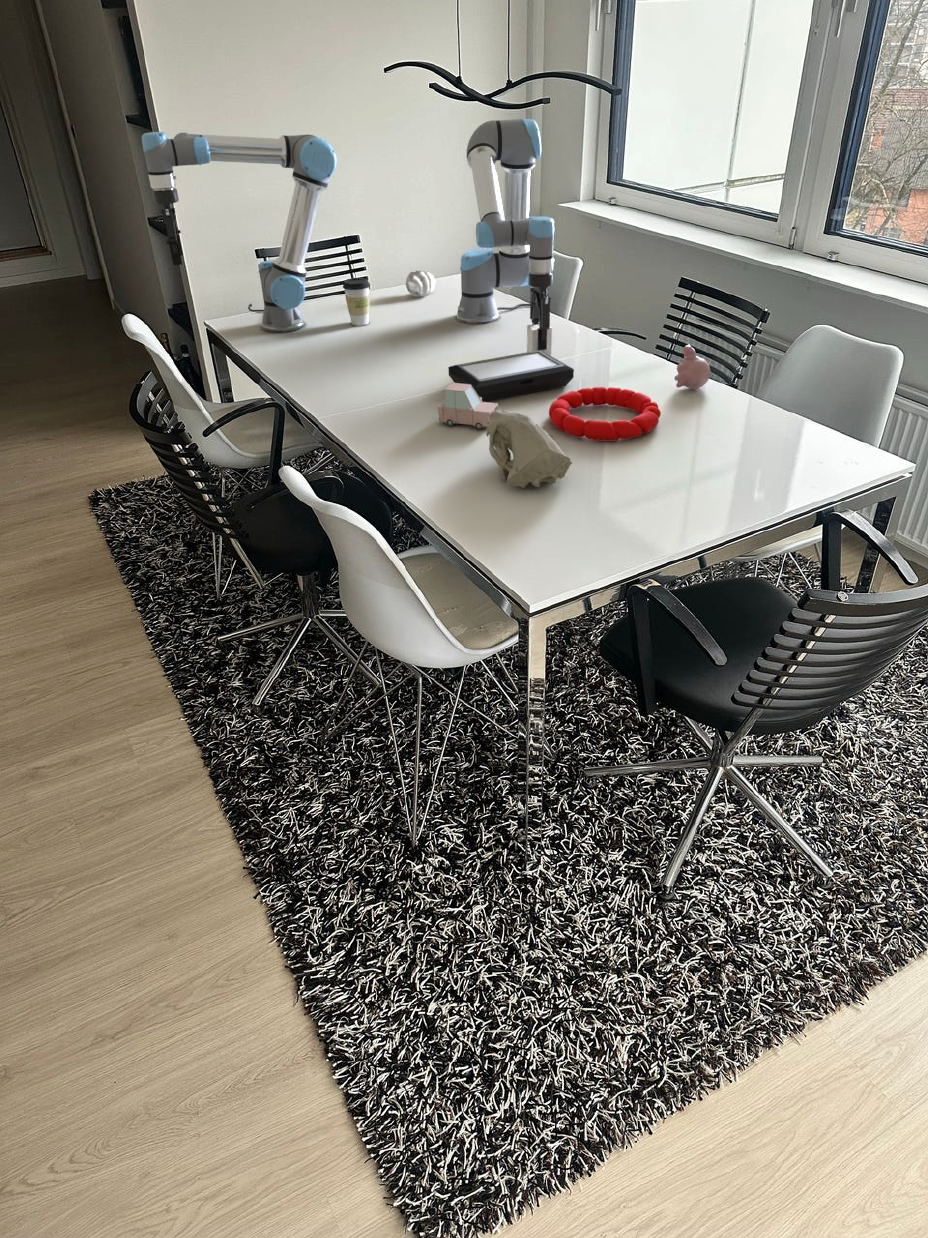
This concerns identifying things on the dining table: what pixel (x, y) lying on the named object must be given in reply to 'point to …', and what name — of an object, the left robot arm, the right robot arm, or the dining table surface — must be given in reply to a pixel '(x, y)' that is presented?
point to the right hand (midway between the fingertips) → (539, 346)
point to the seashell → (420, 283)
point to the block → (533, 339)
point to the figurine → (692, 370)
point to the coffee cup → (357, 300)
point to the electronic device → (512, 374)
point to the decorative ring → (604, 428)
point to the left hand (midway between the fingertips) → (178, 259)
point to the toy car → (465, 406)
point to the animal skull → (525, 450)
